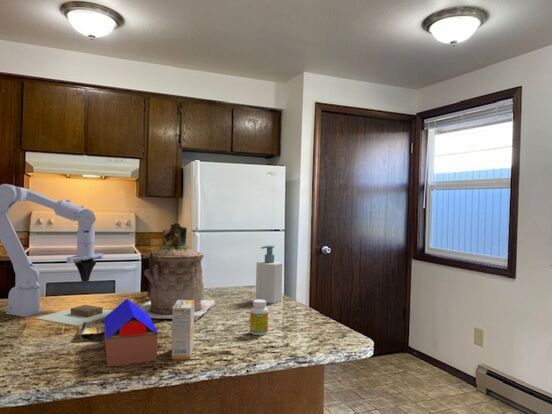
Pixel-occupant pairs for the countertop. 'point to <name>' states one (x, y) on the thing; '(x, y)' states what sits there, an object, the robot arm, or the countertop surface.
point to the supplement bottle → (259, 318)
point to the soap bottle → (269, 278)
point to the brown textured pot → (175, 276)
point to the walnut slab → (86, 311)
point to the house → (129, 335)
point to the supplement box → (183, 329)
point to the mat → (72, 317)
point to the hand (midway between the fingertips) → (85, 281)
